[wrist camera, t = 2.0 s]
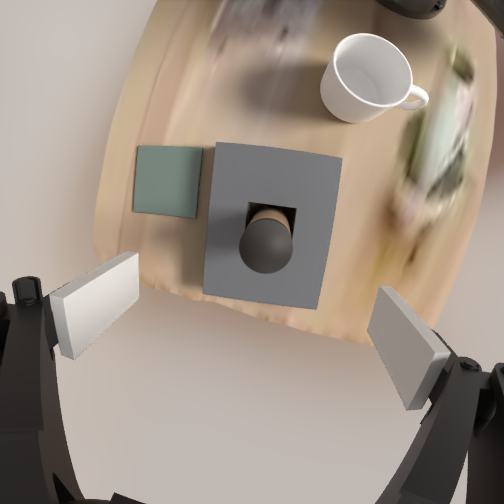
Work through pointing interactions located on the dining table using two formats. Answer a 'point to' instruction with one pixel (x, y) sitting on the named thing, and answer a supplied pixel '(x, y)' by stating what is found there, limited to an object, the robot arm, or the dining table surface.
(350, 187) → the dining table surface
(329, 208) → the socket block
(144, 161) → the mat
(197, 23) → the dining table surface
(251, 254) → the plug
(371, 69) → the cup
